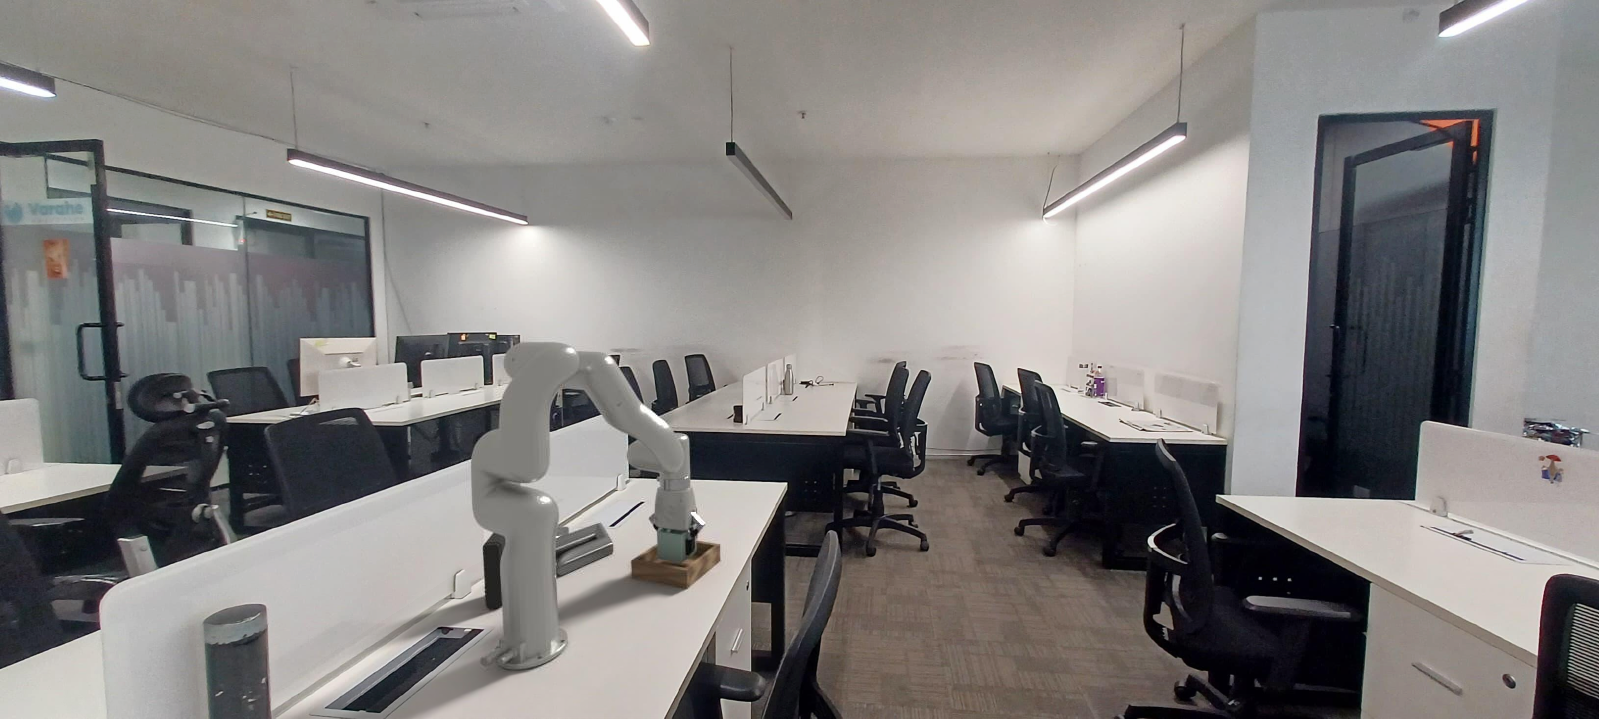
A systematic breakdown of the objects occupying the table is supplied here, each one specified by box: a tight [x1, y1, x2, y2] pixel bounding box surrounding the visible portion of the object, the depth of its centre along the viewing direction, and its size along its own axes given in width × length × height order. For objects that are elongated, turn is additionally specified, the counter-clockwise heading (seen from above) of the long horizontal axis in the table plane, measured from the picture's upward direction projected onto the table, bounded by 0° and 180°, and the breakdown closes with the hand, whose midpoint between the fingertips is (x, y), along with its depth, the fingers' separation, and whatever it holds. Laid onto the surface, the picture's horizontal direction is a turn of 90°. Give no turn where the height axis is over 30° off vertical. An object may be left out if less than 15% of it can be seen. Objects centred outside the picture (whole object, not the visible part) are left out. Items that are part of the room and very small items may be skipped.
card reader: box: [482, 532, 506, 610], centre depth 124 cm, size 9×4×15 cm, turn 14°
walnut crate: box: [630, 540, 721, 590], centre depth 139 cm, size 16×16×4 cm
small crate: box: [656, 525, 697, 563], centre depth 138 cm, size 7×7×7 cm
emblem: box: [555, 522, 614, 576], centre depth 148 cm, size 28×5×28 cm
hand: (677, 550), depth 139 cm, fingers closed on small crate, 7 cm apart
